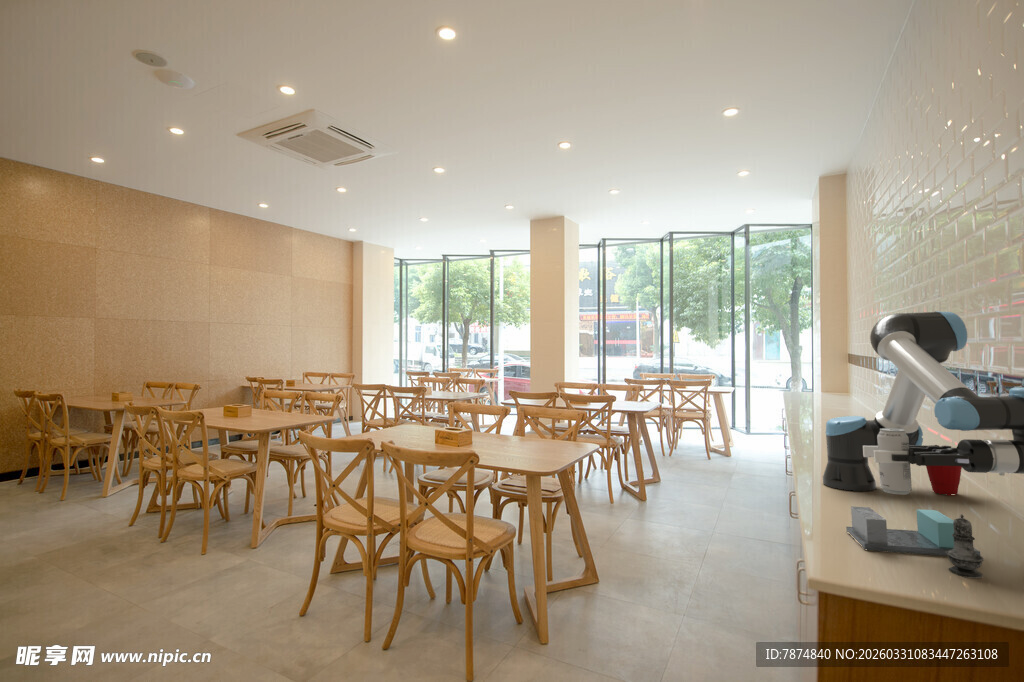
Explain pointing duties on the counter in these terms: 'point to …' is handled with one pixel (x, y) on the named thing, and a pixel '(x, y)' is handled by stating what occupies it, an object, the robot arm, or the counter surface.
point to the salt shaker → (964, 551)
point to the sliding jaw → (936, 527)
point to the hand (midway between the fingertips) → (869, 453)
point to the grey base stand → (889, 535)
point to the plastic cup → (944, 478)
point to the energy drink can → (894, 474)
